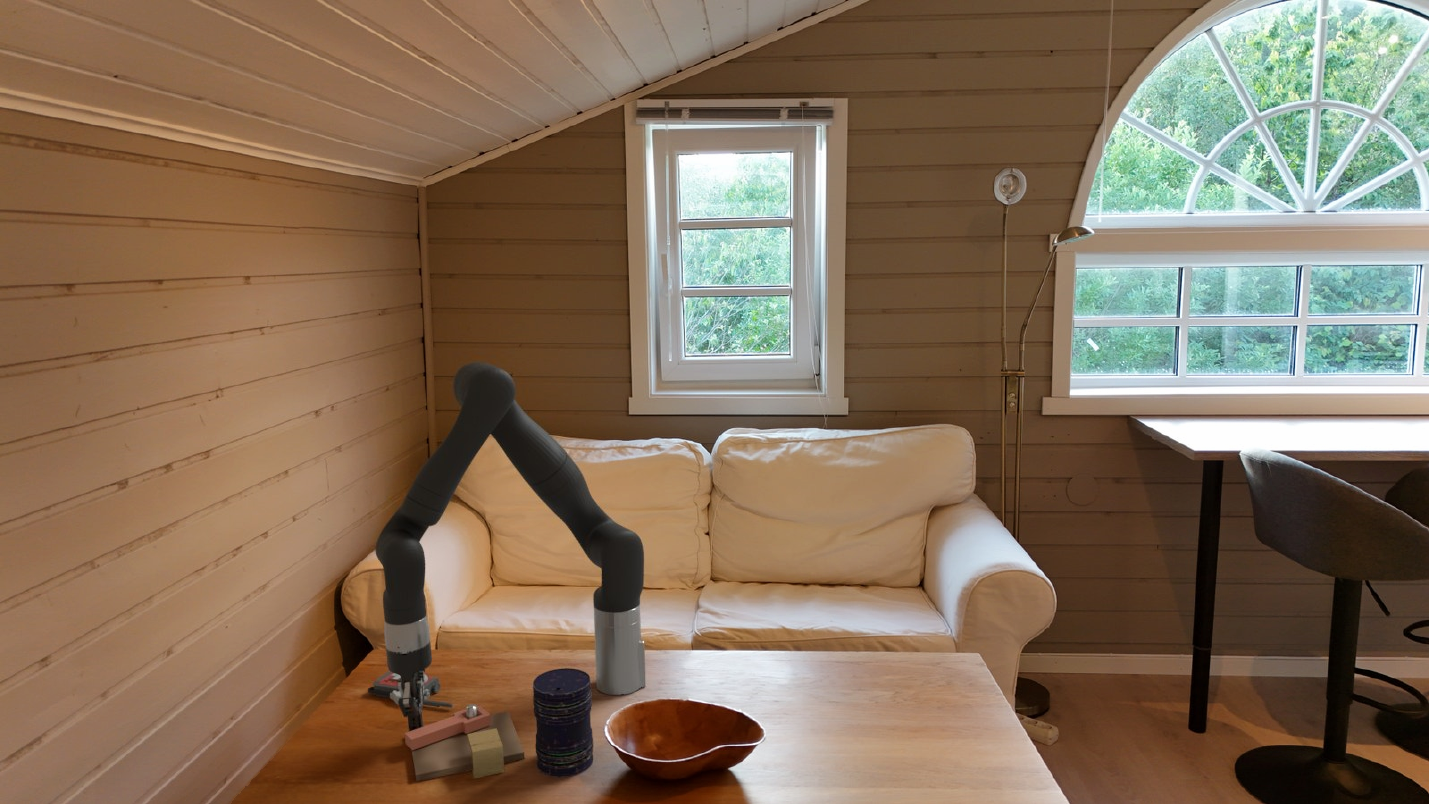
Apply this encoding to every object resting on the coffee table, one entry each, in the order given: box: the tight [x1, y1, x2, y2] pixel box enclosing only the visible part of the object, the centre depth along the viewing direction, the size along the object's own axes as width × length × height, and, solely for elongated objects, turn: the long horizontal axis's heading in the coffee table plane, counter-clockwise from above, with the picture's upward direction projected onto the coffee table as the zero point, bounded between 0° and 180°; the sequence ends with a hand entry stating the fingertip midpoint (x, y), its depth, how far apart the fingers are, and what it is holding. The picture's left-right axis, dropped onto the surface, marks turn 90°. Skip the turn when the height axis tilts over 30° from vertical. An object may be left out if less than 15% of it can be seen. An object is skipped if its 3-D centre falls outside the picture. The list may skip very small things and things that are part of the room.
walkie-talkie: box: [367, 671, 454, 708], centre depth 188 cm, size 9×4×20 cm
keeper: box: [467, 728, 505, 779], centre depth 163 cm, size 5×6×5 cm
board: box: [407, 710, 525, 782], centre depth 169 cm, size 18×16×1 cm
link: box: [404, 704, 492, 750], centre depth 171 cm, size 14×5×2 cm, turn 130°
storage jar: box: [532, 667, 594, 779], centre depth 163 cm, size 10×10×15 cm
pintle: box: [465, 703, 477, 720], centre depth 174 cm, size 2×2×5 cm
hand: (416, 731), depth 171 cm, fingers closed
